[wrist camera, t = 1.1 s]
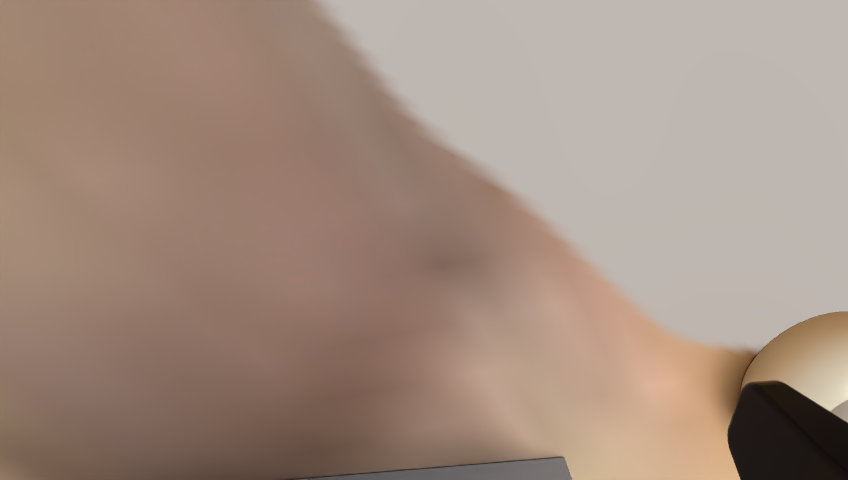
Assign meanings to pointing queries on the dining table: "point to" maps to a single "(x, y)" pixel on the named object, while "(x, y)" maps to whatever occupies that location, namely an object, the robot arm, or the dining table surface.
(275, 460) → the dining table surface
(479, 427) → the dining table surface
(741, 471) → the robot arm
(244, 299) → the dining table surface
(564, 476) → the carton
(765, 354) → the tape roll
